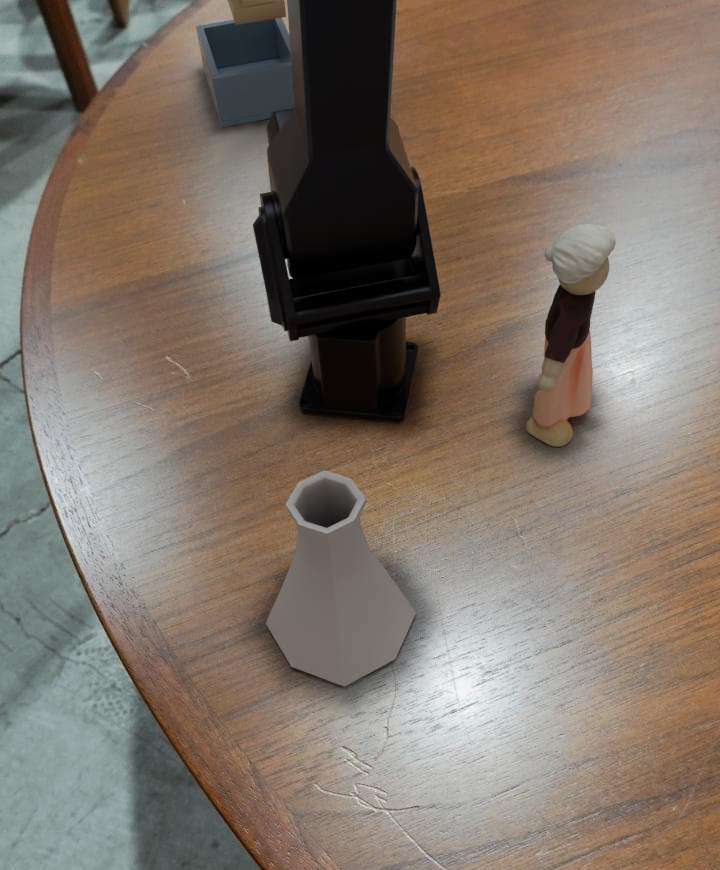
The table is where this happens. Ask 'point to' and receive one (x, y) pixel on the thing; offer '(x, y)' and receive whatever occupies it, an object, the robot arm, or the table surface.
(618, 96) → the table surface
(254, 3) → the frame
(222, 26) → the holder
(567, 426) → the grandmother figurine
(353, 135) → the robot arm
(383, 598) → the flask
